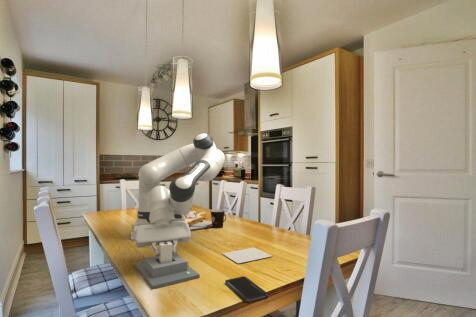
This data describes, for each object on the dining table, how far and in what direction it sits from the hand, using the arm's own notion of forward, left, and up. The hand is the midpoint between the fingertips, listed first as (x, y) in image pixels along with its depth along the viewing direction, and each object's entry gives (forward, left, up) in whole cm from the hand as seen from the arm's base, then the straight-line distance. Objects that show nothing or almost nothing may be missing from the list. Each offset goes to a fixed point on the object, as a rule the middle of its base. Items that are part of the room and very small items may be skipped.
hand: (165, 253), depth 100 cm
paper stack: (+6, +30, -7) cm, 31 cm away
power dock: (-1, 0, -6) cm, 6 cm away
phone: (+27, +16, -7) cm, 32 cm away
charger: (-1, 0, -4) cm, 4 cm away
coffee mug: (-50, +49, -7) cm, 70 cm away
